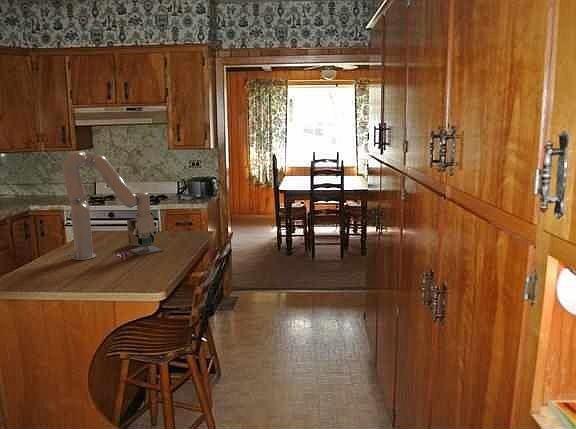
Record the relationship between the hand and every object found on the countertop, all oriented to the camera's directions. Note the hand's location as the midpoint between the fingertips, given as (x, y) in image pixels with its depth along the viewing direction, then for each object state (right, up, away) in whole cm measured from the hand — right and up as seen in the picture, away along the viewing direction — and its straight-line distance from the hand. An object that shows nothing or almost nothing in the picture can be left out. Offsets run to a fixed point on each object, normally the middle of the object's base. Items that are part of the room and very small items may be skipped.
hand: (146, 243), depth 292 cm
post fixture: (0, -5, +1) cm, 5 cm away
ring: (0, -1, 0) cm, 1 cm away
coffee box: (-11, -2, +18) cm, 21 cm away
